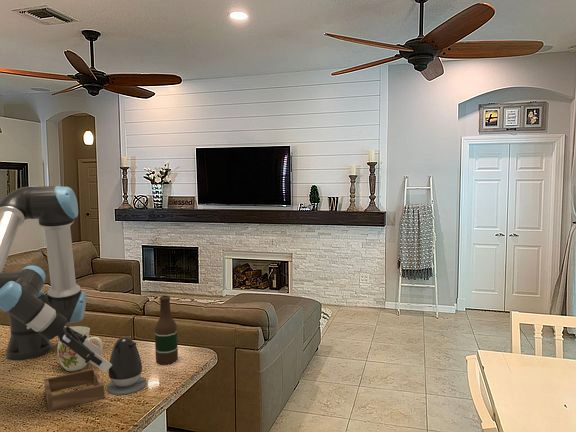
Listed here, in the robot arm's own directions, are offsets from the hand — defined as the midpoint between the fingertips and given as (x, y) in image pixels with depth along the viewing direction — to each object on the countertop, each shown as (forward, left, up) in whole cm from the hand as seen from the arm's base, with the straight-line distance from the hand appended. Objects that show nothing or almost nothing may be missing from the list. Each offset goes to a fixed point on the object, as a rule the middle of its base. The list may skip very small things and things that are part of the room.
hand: (104, 360), depth 142 cm
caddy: (-3, -9, -10) cm, 13 cm away
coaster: (0, +6, -10) cm, 12 cm away
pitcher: (-25, -5, -10) cm, 27 cm away
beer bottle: (-13, +23, -10) cm, 29 cm away
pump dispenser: (0, +6, -9) cm, 11 cm away
